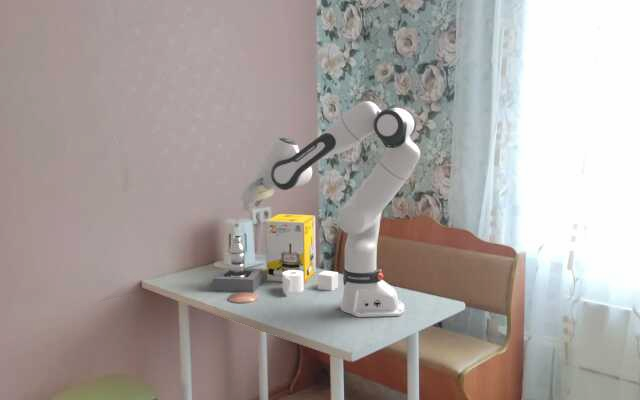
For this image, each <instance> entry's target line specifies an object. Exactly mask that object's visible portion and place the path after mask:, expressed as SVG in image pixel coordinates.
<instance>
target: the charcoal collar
mask: <svg viewBox="0 0 640 400" xmlns="http://www.w3.org/2000/svg"><path fill="white" fill-rule="evenodd" d="M245 274H246V277H230V276H231V267H223V268H222V269H221V271H219V272H218V273H217V274H216V275H215V276H214V277H213V278H212V288H213V289H212V291H213V292H234V293H243V292H249V293H254V292H255V291H256V290H257V289H258V287H259V286H260V285H261V283H262V282H263V269H262V268H246V267H245Z"/></svg>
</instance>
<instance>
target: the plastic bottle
mask: <svg viewBox="0 0 640 400" xmlns="http://www.w3.org/2000/svg"><path fill="white" fill-rule="evenodd" d="M242 239H243V237H242V236H241V235H234V236H232V241H231V242H232V243H231V245H230V246H229V249H228V250H229V256H230V264H231V265H230V268H231V276H230V277H246V274H245V268H246V266H245V260H246V259H245V258H246V257H245V256H246V248H245V246H244V244H243V242H242V241H243V240H242Z"/></svg>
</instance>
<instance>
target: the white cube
mask: <svg viewBox="0 0 640 400" xmlns="http://www.w3.org/2000/svg"><path fill="white" fill-rule="evenodd" d="M338 287H339V272H338V271H332V270H323V271H321V272H319V273H318V274H317V289H318V290H323V291H330V292H332V291H334V290H335V289H337V288H338Z"/></svg>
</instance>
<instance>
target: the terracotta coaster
mask: <svg viewBox="0 0 640 400" xmlns="http://www.w3.org/2000/svg"><path fill="white" fill-rule="evenodd" d="M258 299H259V295H258V294H257V293H254V292H235V293H232V294H231V295H229V296H228V301H229V302H231V303H232V304H233V303H234V304H248V303H254V302H255V301H257V300H258Z"/></svg>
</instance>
